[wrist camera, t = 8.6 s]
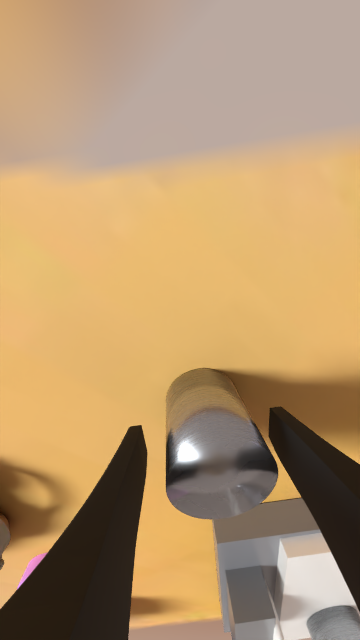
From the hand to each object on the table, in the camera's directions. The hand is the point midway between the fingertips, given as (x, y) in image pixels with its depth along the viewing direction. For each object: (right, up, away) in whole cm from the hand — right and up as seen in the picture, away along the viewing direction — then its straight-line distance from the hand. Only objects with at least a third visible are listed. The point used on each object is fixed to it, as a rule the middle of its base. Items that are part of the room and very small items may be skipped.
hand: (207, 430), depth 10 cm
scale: (+10, -17, +8) cm, 22 cm away
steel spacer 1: (0, +1, +2) cm, 2 cm away
